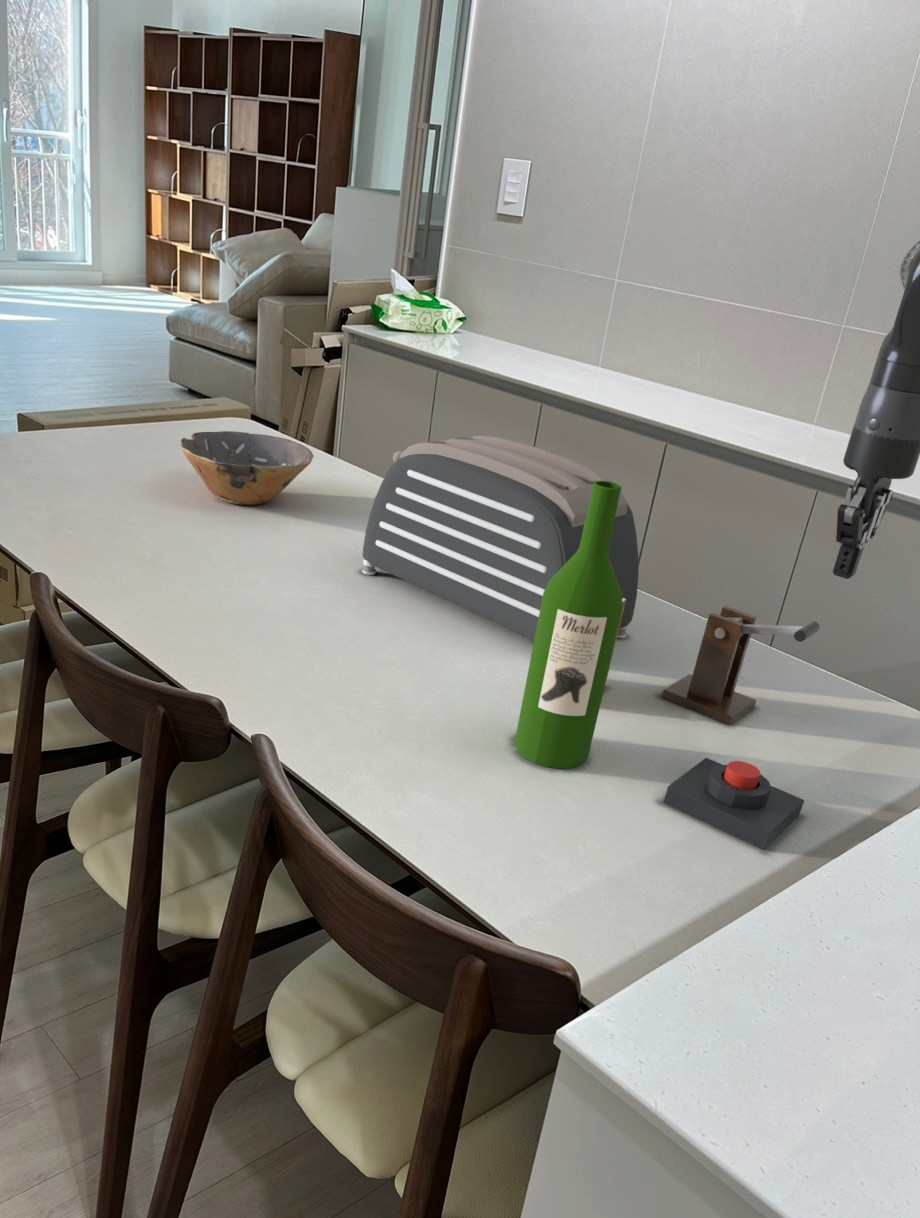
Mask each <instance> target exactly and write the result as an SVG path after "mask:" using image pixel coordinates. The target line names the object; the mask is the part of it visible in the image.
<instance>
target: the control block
mask: <svg viewBox="0 0 920 1218" xmlns="http://www.w3.org/2000/svg"><path fill="white" fill-rule="evenodd" d="M727 765H728V763H727V764H723V763H720V762H718V761H716V760H713V759H711V758H709V757H705V758H703V759H702V760H701V761H699V762H698V763H696V764H695V765H694V766H693V767H692V768H690V769H689V770H688V771H686V772H685V773H683V775H681V776H680V777H678V778H677V779H675V780H674V781H673V782H672V783H671V784H669V785H668V786H667V788H666V792H665V795H664V799H663V803H664V804H666V805H667V806H669V807H672V808H674V809H676V810H678V811H680V812H683V813H685V814H687V815H689V816H690V817H692V818H695V819H697V820H699V821H702V822H704V823H706V824H708V825H710V826H712V827H714V828H717V829H719V830H721V831H723V832H725V833H727V834H729V835H732V836H733V837H736V838H737V839H740V840H743V841H745V842H746V843H748V844H751V845H753V846H755V847H757V848H759V849H762V850H766V849H767V848H768V847H769V846H770V845H771V844H772V843H773V842H774V841H776V839H777V838H778V837H779V836H781V835H782V833H783V832H784V831H786V829H787V828H788V827H790V825H792V823H793V822H795V820H797V818H799V817H800V814H801V811H802V808H803V806H804V804H805V799H803V798H801V797H799V796H796V795H794V794H791V793H789V792H787V791H784V790H782V789H780V788H778V787H776V786H773V785H771V782H770V780H769V779H768V778H766V777H765V776H764V775H763V774H762V773H761V774H760V777H759V780H758V784H757V787H756V788H755V789H753V790H745V789H740V788H737V787H734V786H732V785H730V784H728V783H727V782H726V781H724V774H725V771H726V768H727Z"/></svg>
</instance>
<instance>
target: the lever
mask: <svg viewBox="0 0 920 1218" xmlns="http://www.w3.org/2000/svg"><path fill="white" fill-rule="evenodd" d="M726 618H729V619H731V620H734V621H737V622H740V623H743V618H733V617H726ZM820 628H821V627H820V623H819V622H817V621H815V620H812V621H809V622H808V623H806V624H805V625H803V626H802V625H782V624H780V625H779V624H774V625H773V624H755V623H754V624H744V626H743V629H742V633H741V636H743V633H745V634H751V635H769V636H771V635H773V636H791V637H792V636H793V638H794V640H795V641H796V642H798V643H799V642H800V643H801V642H804V641H805V640H807V639H808V638H810V637H812V636H813V635H814V634H815V633H817V632H819V630H820ZM741 636H740V637H741Z"/></svg>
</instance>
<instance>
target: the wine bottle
mask: <svg viewBox="0 0 920 1218" xmlns="http://www.w3.org/2000/svg"><path fill="white" fill-rule="evenodd" d="M620 491H621V492H622V486H621V485H620V484H619V483H616V482H614V481H612V482H609V481H596V482H594V483H593V489H592V493H591V498H590V502H589V507H588V511H587V515H586V520H585V524H584V529H583V533H582V538H581V542H580V547H579V549H578V550H577V552H576V553H575V554H574V555H573V556H572V557H571V558H570V559H569V561H568V562H567V563H566V564H565V565H564V566H563V567H562V568H561V569H560V570H559V571H558V572H557V573H556V574H555V575H554V576H553V577H552V578H551V579H550V580H549V582H548V584H547V586H546V588H545V591H544V593H543V598H542V603H541V608H540V613H539V618H538V623H537V629H536V634H535V639H533V645H532V650H531V655H530V660H529V666H528V670H527V676H526V679H525V680H526V681H525V687H524V692H523V696H522V701H521V706H520V707H521V708H520V712H519V715H518V716H519V717H518V723H517V727H516V732H515V737H514V745H515V749H516V751H517V752H518V753H519V754H520V755H521V756H522V757H523V758H524V759H526V760H528V761H530V762H532V763H534V764H536V765H539V766H542V767H546V768H551V769H572V768H576V767H579V766H581V765H582V764H584V763H585V762H586V760H587V759H588V757H589V755H590V751H591V746H592V743H593V738H594V734H595V729H596V726H597V721H598V717H599V712H600V708H601V703H602V699H603V695H604V692H605V687H606V685H605V683H606V684H607V681H606V678H607V679H608V676H607V674H608V675H609V672H608V670H609V671H610V668H609V666H610V667H611V664H610V661H611V662H612V660H611V657H612V658H613V656H612V653H613V654H614V652H613V649H614V650H615V647H614V644H615V645H616V643H615V640H616V641H617V639H616V636H617V631H618V627H619V623H620V619H621V614H622V610H623V601H622V591H621V589H620V586H619V583H618V581H617V578H616V576H615V573H614V570H613V568H612V565H611V563H610V560H609V556H608V550H609V545H610V540H611V535H612V530H613V525H614V520H615V516H616V511H617V506H618V501H619V496H620Z"/></svg>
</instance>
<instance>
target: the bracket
mask: <svg viewBox="0 0 920 1218" xmlns="http://www.w3.org/2000/svg"><path fill="white" fill-rule="evenodd" d="M726 617H733V618H743V623H740V622H737V621H734V620H731V619H729V618H726ZM756 620H757V616H755V615H752V614H750V613H747V612H744V611H742V610H738V609H735V608H732V607H730V606H726V605H724V606H722V607H721V610H720V614H717V613H714V612H711V613H709V614H708V617H707V621H706V625H705V629H704V632H703V636H702V639H701V643H700V647H699V651H698V654H697V658H696V661H695V665H694V669H693V672H692V674H691V673H689V674H687V675H685V676H684V677H682V678H680V679H679V680H677V681H675V682H674V683H672V684H671V685H668V686H667V687H666V688H664V689H663V691H662V694H661V698H663V699H666V700H668V701H669V702H673V703H675V704H678V705H680V706H683V707H685V708H687V709H689V710H693V711H694V712H697V713H700V714H702V715H704V716H706V717H710V718H712V719H715V720H716V721H719V722H721V723H724V724H727V725H729V726H731V725H732V724H734V723H735V722H736V721H738V720H740V719H741V718H742V717H743V716H745V715H746V714H748V713H749V712H751V710H753V709H754V708H755V707H756V703H757V699H756V698H752V697H750V696H747V695H745V694H742V693H739V692H737V691H735V690H736V687H737V683H738V681H739V677H740V673H741V670H742V667H743V664H744V660H745V656H746V653H747V649H748V648H749V647H748V646H749V643H750V640H751V636H752V634H745V633H743V636H741V633H742V629H743V626H744V624H754V625H755V623H756ZM740 636H741V637H740Z"/></svg>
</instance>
